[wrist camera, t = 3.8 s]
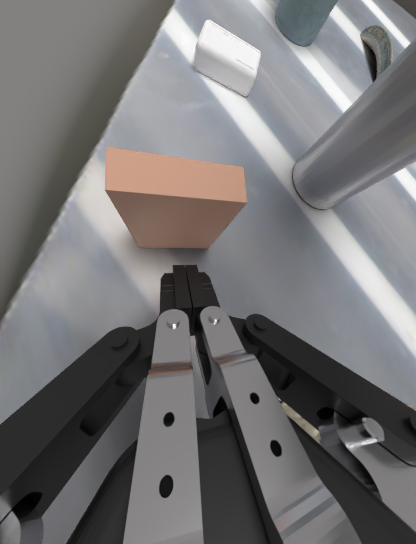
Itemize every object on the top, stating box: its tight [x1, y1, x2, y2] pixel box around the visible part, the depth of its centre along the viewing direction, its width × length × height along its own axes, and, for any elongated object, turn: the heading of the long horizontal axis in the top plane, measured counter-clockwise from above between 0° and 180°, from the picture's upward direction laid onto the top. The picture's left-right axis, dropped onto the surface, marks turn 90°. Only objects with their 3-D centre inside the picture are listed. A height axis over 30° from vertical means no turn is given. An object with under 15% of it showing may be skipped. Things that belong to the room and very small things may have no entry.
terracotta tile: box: [105, 147, 247, 248], centre depth 14 cm, size 3×8×10 cm, turn 93°
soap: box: [194, 20, 261, 97], centre depth 24 cm, size 9×6×3 cm, turn 75°
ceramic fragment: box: [360, 25, 393, 79], centre depth 35 cm, size 14×5×4 cm, turn 4°
